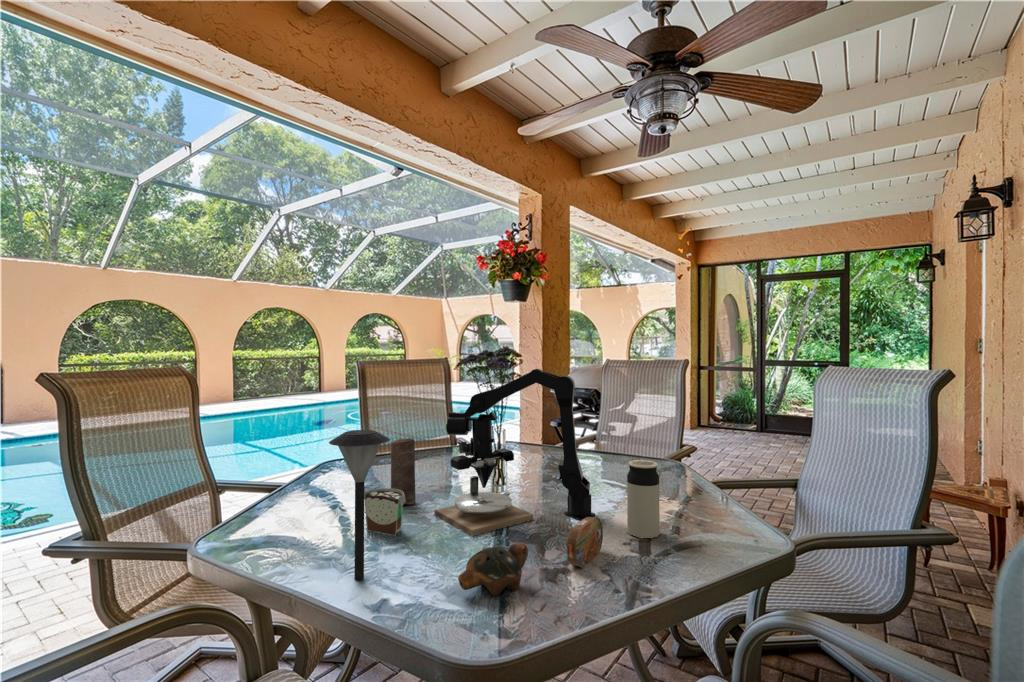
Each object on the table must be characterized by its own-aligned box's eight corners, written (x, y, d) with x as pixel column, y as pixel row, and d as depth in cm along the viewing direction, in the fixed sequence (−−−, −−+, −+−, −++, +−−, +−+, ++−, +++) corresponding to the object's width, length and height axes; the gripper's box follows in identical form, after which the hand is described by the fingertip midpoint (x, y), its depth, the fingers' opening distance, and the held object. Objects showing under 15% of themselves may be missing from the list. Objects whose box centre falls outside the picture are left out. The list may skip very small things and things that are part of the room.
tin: (577, 574, 102) (577, 533, 103) (564, 570, 104) (564, 530, 104) (604, 549, 115) (604, 513, 115) (591, 546, 117) (591, 511, 117)
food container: (415, 529, 128) (415, 491, 128) (400, 537, 123) (400, 497, 123) (378, 522, 133) (378, 485, 134) (362, 529, 128) (362, 491, 128)
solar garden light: (355, 562, 108) (356, 426, 109) (401, 571, 103) (402, 429, 104) (313, 586, 97) (314, 434, 97) (363, 598, 92) (364, 439, 93)
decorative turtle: (541, 586, 97) (540, 547, 96) (475, 615, 88) (474, 572, 88) (512, 566, 105) (511, 530, 104) (450, 591, 96) (448, 551, 95)
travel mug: (664, 539, 121) (663, 466, 122) (633, 540, 121) (632, 466, 121) (653, 527, 129) (652, 459, 130) (623, 528, 129) (623, 459, 129)
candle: (401, 509, 144) (401, 441, 145) (385, 504, 149) (385, 439, 149) (420, 503, 150) (420, 438, 151) (404, 498, 155) (404, 435, 155)
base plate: (533, 519, 135) (533, 513, 135) (472, 536, 123) (472, 529, 123) (492, 502, 151) (492, 496, 151) (434, 515, 139) (434, 509, 139)
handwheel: (521, 514, 134) (521, 485, 134) (467, 524, 127) (467, 493, 127) (496, 499, 148) (496, 472, 148) (446, 507, 141) (446, 479, 141)
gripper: (495, 427, 157) (497, 476, 157) (442, 435, 147) (443, 487, 147) (514, 432, 147) (515, 484, 147) (458, 440, 137) (459, 496, 137)
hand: (483, 487), depth 145 cm, fingers closed
